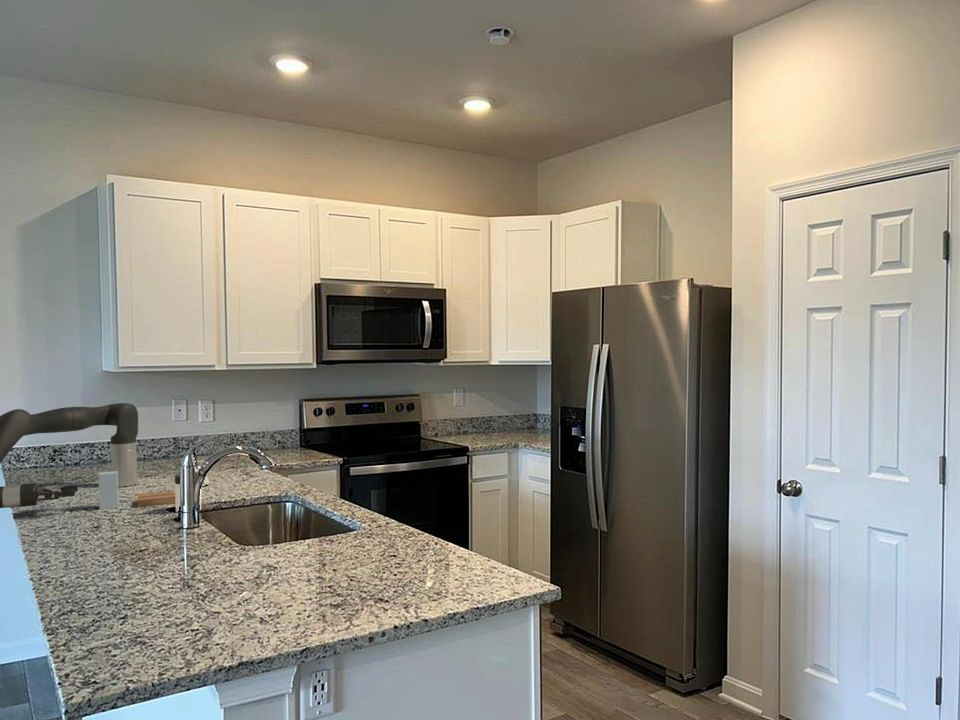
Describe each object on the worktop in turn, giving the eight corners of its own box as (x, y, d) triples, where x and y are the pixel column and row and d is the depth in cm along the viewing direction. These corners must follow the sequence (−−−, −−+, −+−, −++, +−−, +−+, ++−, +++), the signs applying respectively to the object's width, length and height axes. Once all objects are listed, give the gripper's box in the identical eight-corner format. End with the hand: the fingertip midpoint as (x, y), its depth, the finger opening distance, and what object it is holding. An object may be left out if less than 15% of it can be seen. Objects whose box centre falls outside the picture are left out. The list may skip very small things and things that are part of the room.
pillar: (101, 506, 250) (99, 472, 250) (118, 504, 252) (117, 470, 252) (99, 509, 245) (98, 474, 245) (117, 507, 247) (116, 473, 247)
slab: (138, 502, 258) (138, 494, 258) (174, 498, 263) (174, 490, 263) (137, 509, 247) (137, 500, 247) (175, 505, 252) (175, 496, 252)
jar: (201, 511, 239) (200, 475, 238) (175, 513, 236) (173, 477, 236) (202, 505, 247) (201, 471, 247) (176, 508, 244) (175, 473, 244)
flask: (214, 484, 288) (213, 459, 288) (205, 487, 281) (204, 462, 281) (196, 484, 289) (196, 459, 289) (187, 487, 282) (187, 462, 282)
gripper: (16, 487, 231) (73, 482, 238) (23, 480, 244) (78, 476, 251) (17, 511, 232) (74, 505, 238) (24, 502, 245) (78, 497, 251)
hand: (76, 490), depth 245 cm, fingers open, 8 cm apart
